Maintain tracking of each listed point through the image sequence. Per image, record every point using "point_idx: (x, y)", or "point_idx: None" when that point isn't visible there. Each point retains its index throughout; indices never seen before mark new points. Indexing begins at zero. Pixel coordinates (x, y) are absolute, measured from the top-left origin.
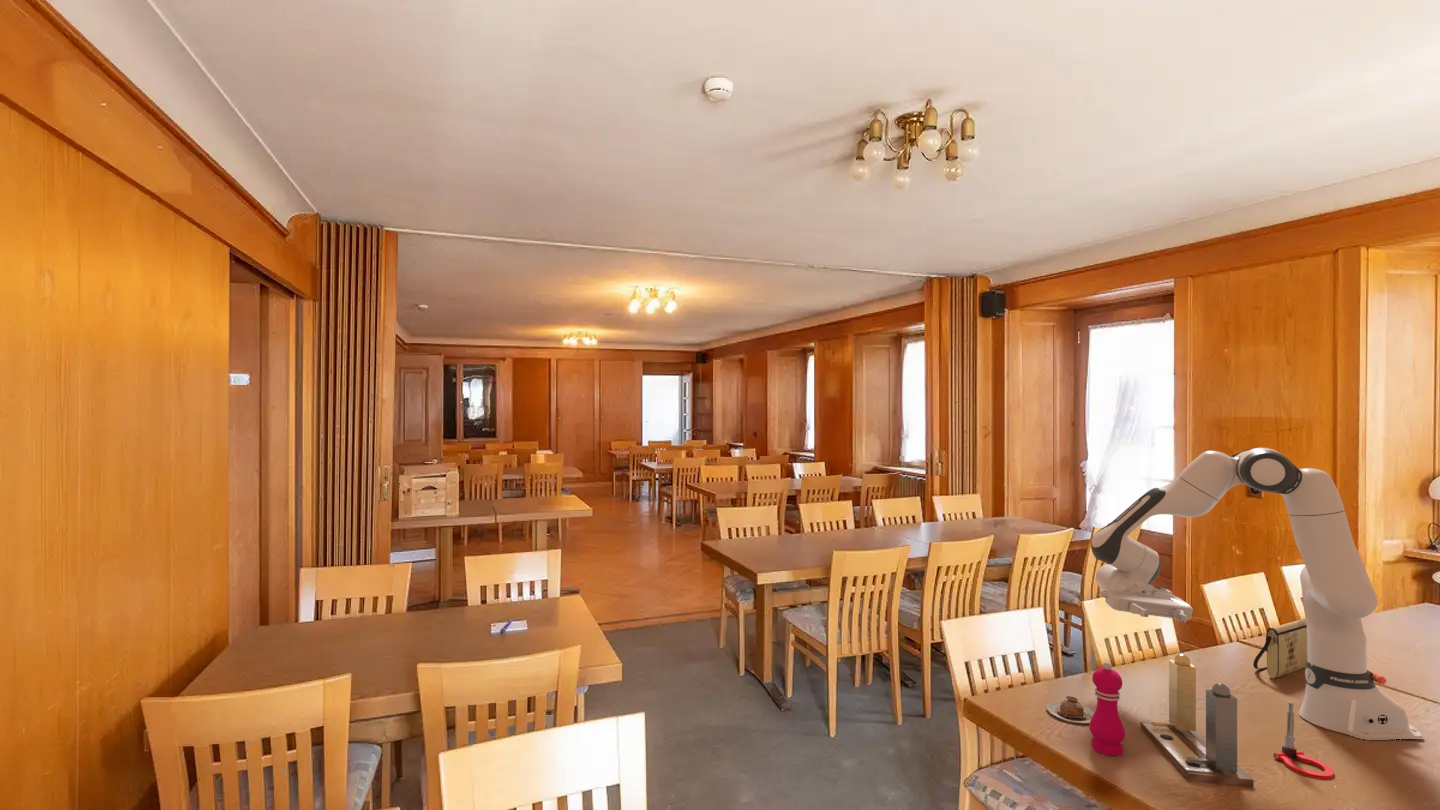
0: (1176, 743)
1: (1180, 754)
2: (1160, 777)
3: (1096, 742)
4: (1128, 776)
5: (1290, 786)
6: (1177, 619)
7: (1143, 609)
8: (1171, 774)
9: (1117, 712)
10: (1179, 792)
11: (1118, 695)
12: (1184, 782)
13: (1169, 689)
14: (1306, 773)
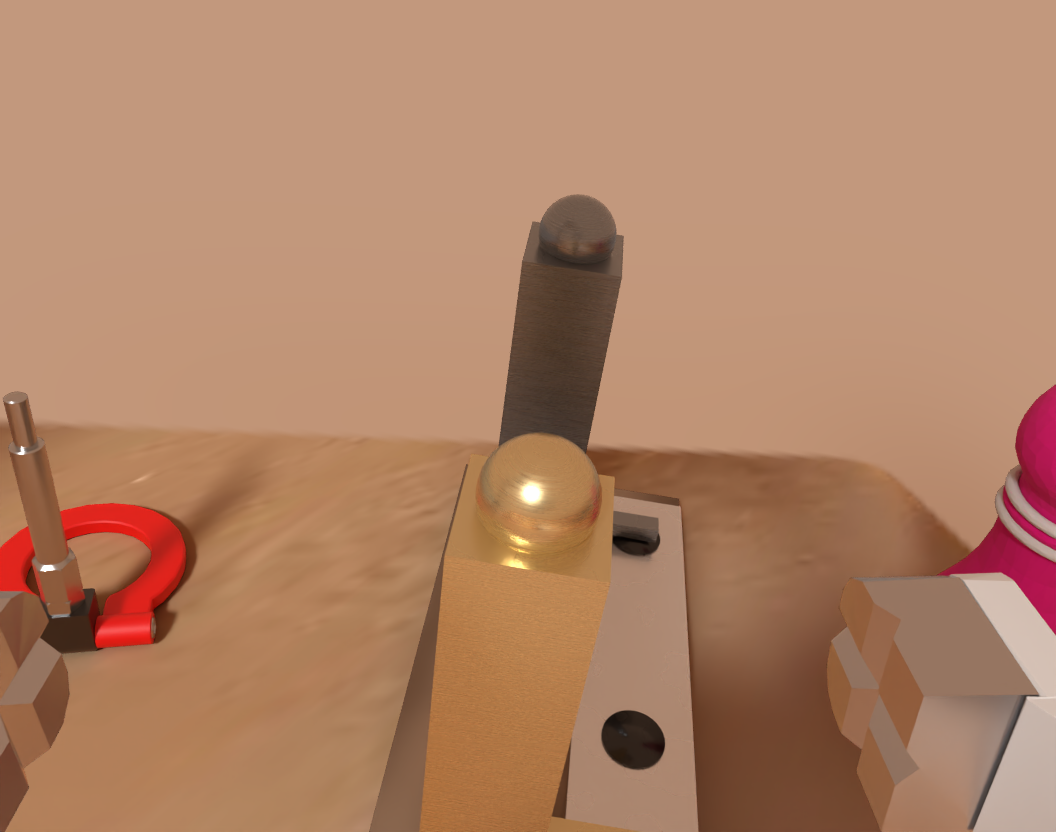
0: (615, 678)
1: (648, 594)
2: (766, 539)
3: None
4: (879, 546)
5: (320, 483)
6: (18, 782)
7: (995, 599)
8: (718, 552)
9: (975, 549)
10: (736, 474)
11: (1013, 468)
12: (694, 513)
13: (567, 749)
14: (171, 522)
